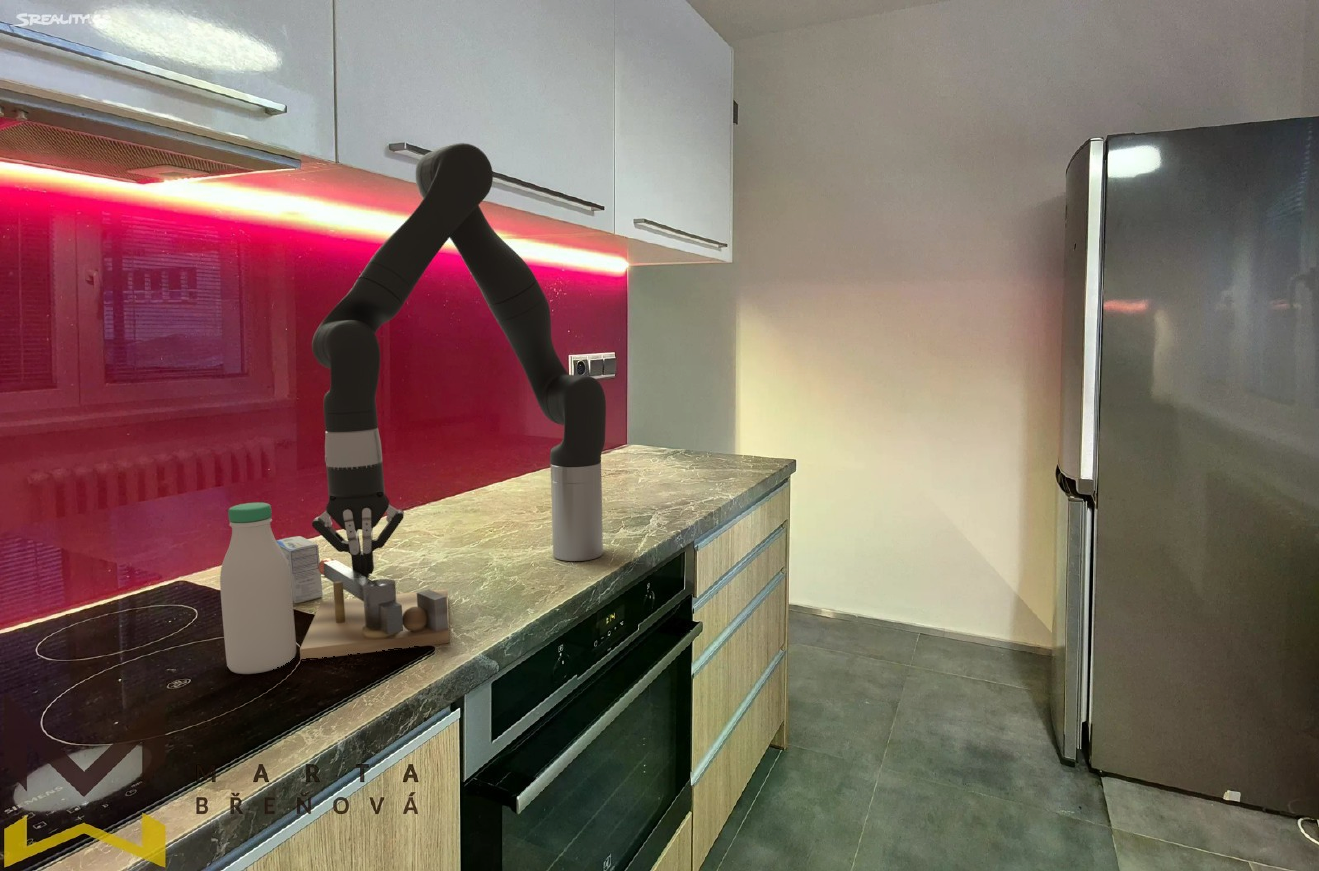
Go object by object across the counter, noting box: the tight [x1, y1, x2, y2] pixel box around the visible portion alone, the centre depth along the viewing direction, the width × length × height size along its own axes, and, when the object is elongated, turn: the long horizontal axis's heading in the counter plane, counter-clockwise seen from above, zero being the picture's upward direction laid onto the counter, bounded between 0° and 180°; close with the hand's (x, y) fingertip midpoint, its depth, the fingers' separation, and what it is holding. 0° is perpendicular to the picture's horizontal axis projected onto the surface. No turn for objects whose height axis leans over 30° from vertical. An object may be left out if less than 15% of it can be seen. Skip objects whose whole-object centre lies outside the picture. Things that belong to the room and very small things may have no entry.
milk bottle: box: [219, 502, 297, 675], centre depth 92 cm, size 8×8×20 cm
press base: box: [299, 581, 450, 660], centre depth 104 cm, size 18×18×7 cm
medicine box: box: [276, 535, 324, 604], centre depth 118 cm, size 8×4×9 cm, turn 45°
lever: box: [318, 557, 403, 635], centre depth 104 cm, size 25×4×5 cm, turn 43°
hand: (363, 576), depth 110 cm, fingers closed
